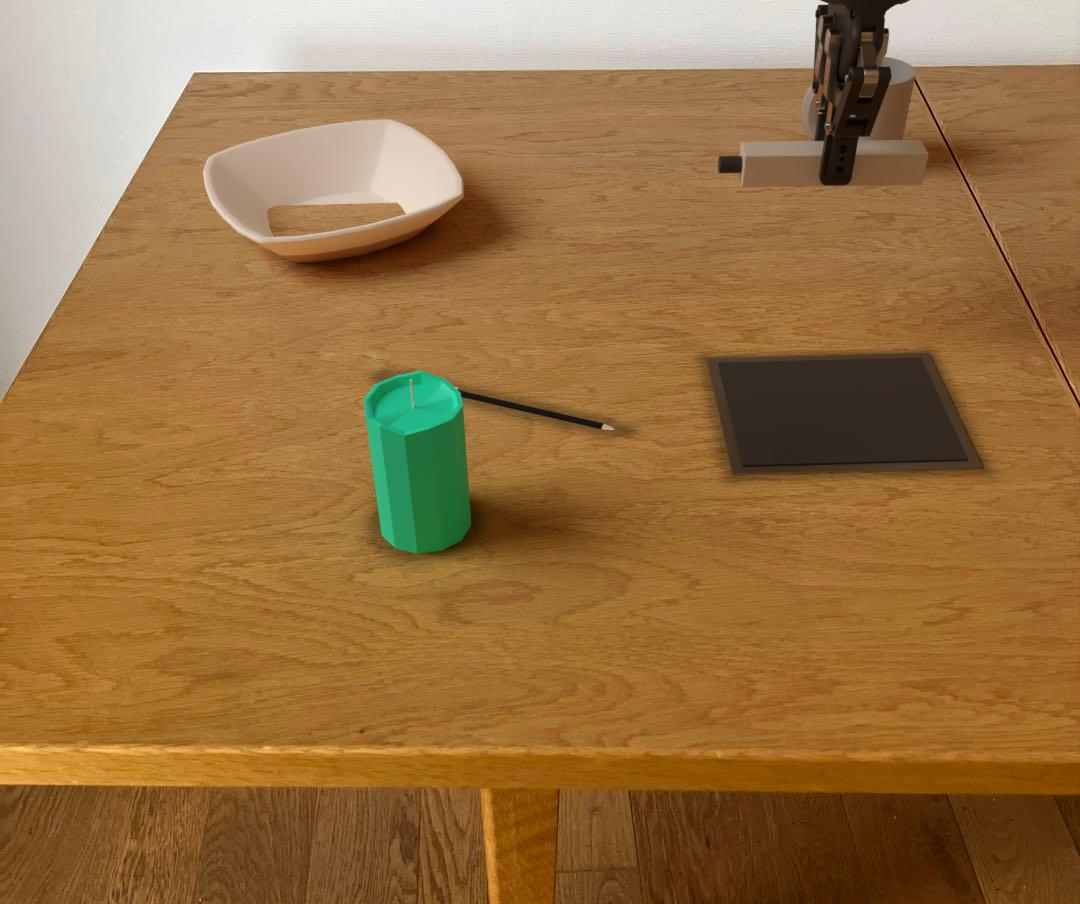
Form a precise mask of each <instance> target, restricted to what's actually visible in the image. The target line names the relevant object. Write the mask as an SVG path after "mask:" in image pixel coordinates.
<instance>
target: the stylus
mask: <svg viewBox="0 0 1080 904" xmlns="http://www.w3.org/2000/svg"><path fill="white" fill-rule="evenodd" d="M823 145H824V141H813V140H797V141H796V140H793V141H791V140H790V141H788V140H786V141H784V140H782V141H780V140H779V141H777V140H776V141H741V142H740V146H739V147H740V148H739V155H719V156H718V160H717V173H718V174H737V175H738V179H739V182H740V185H741V188H789V187H790V188H791V187H799V188H800V187H801V188H802V187H867V186H868V187H874V186H875V187H878V186H879V187H880V186H883V187H884V186H889V187H890V186H922V185H923V182H924V177H925V173H926V168H927V164H928V158H929V152H928V150H927V148H926V147H925V145H924V143H923V141H922V139H903V140H862V141H858V144H857V150H856V156H855V161H854V167H853V173H852V179H851V181H850V182H849V183H848V184H847V185H823V184H822V183H821V181H820V179H819V171H820V165H821V158H822V151H823Z"/></svg>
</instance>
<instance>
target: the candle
mask: <svg viewBox="0 0 1080 904" xmlns="http://www.w3.org/2000/svg"><path fill="white" fill-rule="evenodd" d="M455 387H456V386H454V385H453V384H451V382H450V381H448V380H447V379H446V378H444V377H442V376H441V377H440V376H437V375H435V374H432V373H430V372H427V371H424V370H417V371H412V372H408V373H402V374H396V375H393V376H391V377H389V378H386V379H384V380H381V381H379V382H377V383H375V384H374V385H373V386H372V388H371V389H370V390H369V392H368V393H367V394H366V395H365V397H364V398H363V405H364V417H365V424H366V432H367V438H368V446H369V452H370V461H371V466H372V467H371V468H372V474H373V483H374V489H375V498H376V503H377V510H378V519H379V525H380V533H381V536H382V538H384V539H385V540H386V541H387V542H388V543H389V544H390V545H391V546H393V547H394V549H396V550H401V551H404V552H405V551H406V552H409V553H413V554H417V555H418V554H419V555H420V554H426V553H435V552H442V551H444V550H446V549H448V548H450V547H452V546H454V545H455V544H458V543H460V542H461V541H463V539H464V537H465V536H466V534H467V532H468V531H469V530H470V528H471V526H472V514H471V513H472V512H471V503H470V502H471V500H470V485H469V471H468V459H467V456H468V455H467V443H466V428H465V427H466V426H465V415H464V404H463V399H462V398H463V397H461V393H460V392H459V391H458V390H459V389H456V388H455Z"/></svg>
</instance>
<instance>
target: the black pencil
mask: <svg viewBox="0 0 1080 904" xmlns="http://www.w3.org/2000/svg"><path fill="white" fill-rule="evenodd" d="M454 387H455V388H456V389H457V390H458V391H459V392H460V393H461V398H464V399H468V400H472V401H477V402H482V403H485V404H489V405H494V406H498V407H501V408H507V409H511V410H516V411H519V412H524V413H529V414H533V415H536V416H537V415H538V416H542V417H545V418H550V419H555V420H559V421H564V422H568V423H571V424H576V425H580V426H584V427H589V428H593V429H597V430H606V431H607V430H608V431H614V430H616V429H615V427H613V426H611V425H608V424H607V423H604V422H600V421H595V420H591V419H586V418H582V417H578V416H573V415H570V414H564V413H560V412H555V411H552V410H547V409H543V408H538V407H534V406H530V405H526V404H521V403H516V402H512V401H509V400H504V399H500V398H495V397H490V396H485V395H482V394H478V393H474V392H469V391H465V390H460V388H459V387H457V386H454Z"/></svg>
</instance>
